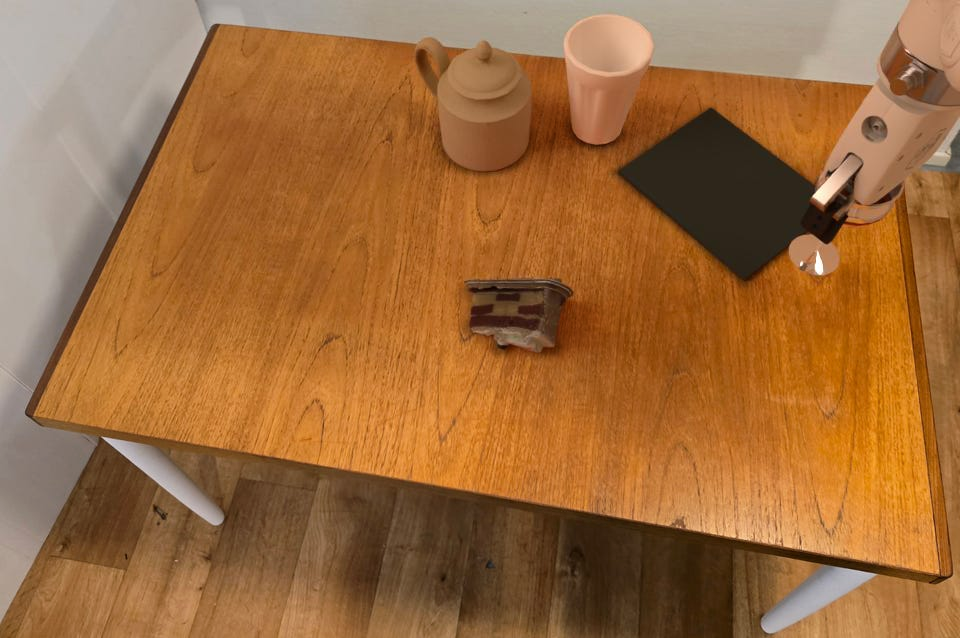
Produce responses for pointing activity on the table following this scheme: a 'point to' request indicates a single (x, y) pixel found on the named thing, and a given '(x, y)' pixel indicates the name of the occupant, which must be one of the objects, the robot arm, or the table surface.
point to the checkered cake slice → (518, 310)
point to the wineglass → (825, 257)
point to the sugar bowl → (478, 103)
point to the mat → (724, 191)
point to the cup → (604, 73)
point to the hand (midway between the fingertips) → (842, 211)
